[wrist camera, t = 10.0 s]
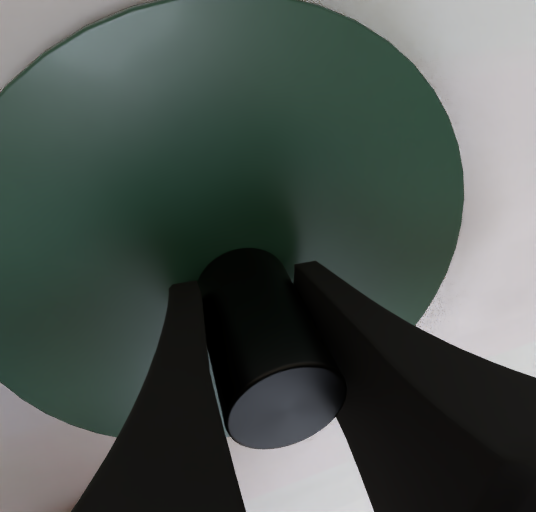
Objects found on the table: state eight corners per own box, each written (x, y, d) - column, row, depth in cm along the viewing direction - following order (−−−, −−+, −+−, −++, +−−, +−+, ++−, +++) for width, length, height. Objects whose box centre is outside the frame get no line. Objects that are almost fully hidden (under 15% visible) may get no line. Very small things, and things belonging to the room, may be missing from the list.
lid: (399, 371, 18) (482, 491, 14) (50, 455, 15) (21, 644, 11) (500, -13, 10) (759, -2, 6) (-188, -8, 7) (-636, 23, 3)
